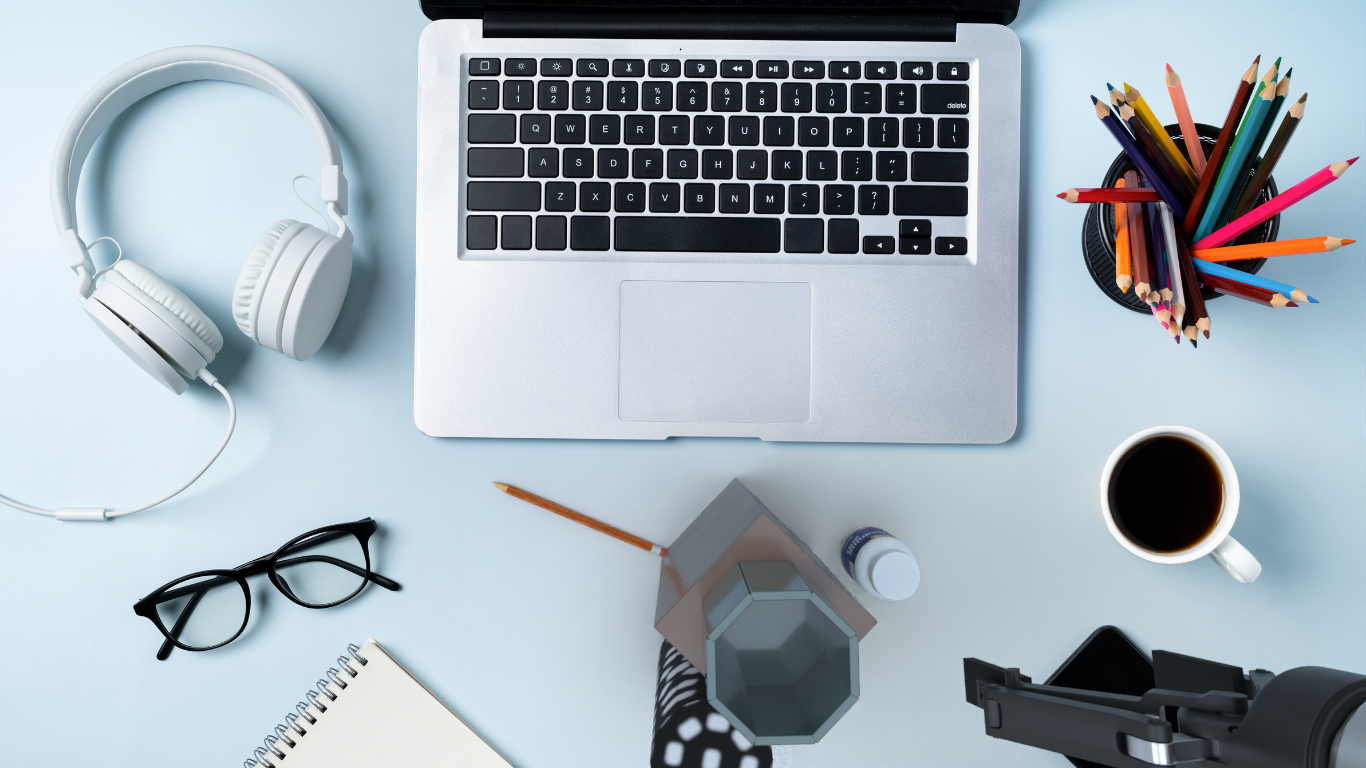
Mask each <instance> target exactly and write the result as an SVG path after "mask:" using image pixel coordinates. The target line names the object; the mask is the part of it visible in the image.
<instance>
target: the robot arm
mask: <svg viewBox="0 0 1366 768" xmlns="http://www.w3.org/2000/svg"><path fill="white" fill-rule="evenodd" d="M1151 659H1152V667H1153V677H1154V686H1155V687H1154V688H1151V689H1149V690H1148V691H1146V693H1144V694H1143V695H1142V696H1136V695H1128V694H1120V693H1112V692H1106V691H1105V692H1104V691H1096V690H1090V689H1089V690H1088V689H1081V688H1072V687H1065V686H1064V687H1063V686H1057V685H1050V684H1040V683H1033V678H1032V677H1031V676H1028V675H1026V674H1023V673H1021V669H1020V667H1003V666H1000V665H997V664H994V663H991V662H988V661H985V660H982V659H980V658H977V657H963V658H962V664H963V677H964V691H965V702H966V703H968V704H970V705H972V706H974V707H977V708H979V709H982V710H983V718H984V731H985V735H986V736H989V737H992V738H993V739H999V740H1004V741H1008V742H1012V743H1016V744H1019V745H1020V744H1021V745H1024V746H1028V747H1031V748H1036V749H1040V750H1043V751H1044V750H1045V751H1048V752H1052V753H1056V754H1060V755H1064V756H1068V757H1072V758H1076V759H1079V760H1080V759H1081V760H1084V761H1088V762H1092V763H1096V764H1100V765H1104V766H1108V767H1112V768H1366V674H1363V673H1357V672H1352V671H1347V670H1342V669H1336V668H1333V667H1332V668H1331V667H1326V666H1320V665H1304V666H1297V667H1293V668H1290V669H1287V670H1285V671H1282V672H1280V673H1278V674H1277V675H1276V674H1275V673H1274V672H1273V671H1272V670H1267V669H1266V668H1259V667H1257V668H1255V669H1250V670H1248V674H1246V673H1244V668H1243V667H1242V666H1237V665H1234V664H1228V663H1224V662H1219V661H1214V660H1210V659H1206V658H1201V657H1196V656H1193V655H1188V654H1183V653H1179V652H1173V651H1170V650H1166V649H1151ZM1165 706H1171V707H1178V709H1177V713H1176V716H1177V717H1176V719H1177V725H1178V726H1177V727H1178V732H1173V727H1172V723H1171V722H1169V721H1168V720H1167V719H1166V717H1167V716H1166V710H1165V709H1166V708H1165Z"/></svg>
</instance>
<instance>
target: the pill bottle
mask: <svg viewBox="0 0 1366 768" xmlns="http://www.w3.org/2000/svg"><path fill="white" fill-rule="evenodd" d="M839 556H840V562H841V564H842V565H841V566H842V568H843V569H844V571H845V572H846V573H847V575H848V576H849V577H850V578H851V579H852V581H854V582H855V583H856V584H857V585H858V586H859V588H861V589H862V590H863V591H864V592H865V593H866V594H867V595H869V596H870V597H872V598H874V599H876V600H879V601H887V602H889V601H890V602H891V601H894V602H895V601H897V602H898V601H903V600H906V599H909V598H910V597H912V596H913V595H914V594H915V593H916V592H917V590H918V588H919V586H920V583H921V569H920V567H919V562H918V558H917V556H916V554H915V552H914V551H913V549H912V548H911V547H910V546H909V545H908V544H907V543H906V542H904V541H903V540H902V539H900V538H898V537H896V536H894V535H892V534H891V533H890V532H888V531H887V530H885V529H883V528H880V527H878V526H873V525H863V526H858V527H856V528H854V529H853V530H852V531H850V532H849V533H848V534H847V535H846V537H845V538H844V540H843V541H842V543H841V546H840V553H839Z"/></svg>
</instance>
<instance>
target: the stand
mask: <svg viewBox="0 0 1366 768" xmlns="http://www.w3.org/2000/svg"><path fill="white" fill-rule="evenodd" d="M666 549H667V550H666V552H665V553H664V554H663V555H662V557H661V564H660V572H659V580H658V589H657V596H656V605H655V606H656V607H655V613H654V623H653V628H654V629H655V630H656V631H657V632H658V633H659V634H660V635H661V636H662V637H663V638H664V640H665V639H666V640H667V641H668V642H669V643H670V644H671V645H673V646H674V647H675V648H676V649H677V650H678V651H679V652H680V653H681V654H682V655H683V656H684V657H685V658H686V659H687V660H688V661H689V662H690V663H691V664H692V665H693V666H694V667H695V668H696V669H697V670H698V671H699V672H700V673H701V674H702V675H704V676H705V669H704V659H703V637H702V601H703V598H704V597H705V596H706V595H707V594H708V593H709V592H710V591H711V590H712V588H713V587H714V586H715V585H716V584H717V583H718V582H719V581H720V580H721V579H722V578H723V577H724V576H725V575H726V574H727V573H728V572H729V571H730V569H731V568H732V567H733V566H734V565H735V564H736V563H739V562H740V561H779V560H790V562H791V561H792V562H793V563H794V564H795V565H796V566H797V567H798V568H799V569H800V570H802V571H803V572H804V573H805V574H806V575H807V576H808V577H809V578H810V579H811V580H812V581H813V582H814V583H815V584H816V585H817V586H818V587H819V588H820V589H821V590H822V591H823V592H824V593H825V594H826V595H828V597H829V598H830V599H831V601H832V602H833V603H834V604H835V606H836V607H837V608H838V609H839V611H840V612H841V613H842V615H843V616H844V617H845V618H846V620H847V621H848V622H849V623H850V625H851V626H852V627H853V629H854V630H855V631H856V632H857V635H858V643H860V642H861V641H862V640H863V639H864V638H865V637H866V636H867V635H868V633H870V631H871V630H872V629H873V628H874V627H875V626H876V625H877V624H878V622H879V621H878V620H877V619H876V618H875V616H873V614H871V612H870V611H869V610H868V609H867V608H866V607H865V606H864V604H862V602H860V601H859V600H858V598H857V597H855V595H854V594H853V593H852V592H851V591H850V589H848V588H847V587H846V585H845V584H844V583H843V582H842V581H841V580H840V579H839V578H838V577H837V576H836V574H834V573H833V571H832V570H831V569H830V568H829V567H828V566H827V565H826V564H825V562H823V560H822V559H821V558H820V557H819V556H818V555H817V554H816V553H815V552H814V551H813V550H812V549H811V548H810V547H809V546H808V545H807V544H806V543H805V542H804V541H803V540H802V539H801V538H799V536H798V535H797V534H796V533H794V532H793V531H792V529H790V528H789V527H788V526H787V525H786V524H785V523H784V522H783V520H781V518H779V517H778V516H777V515H776V514H775V513H774V512H773V511H771V509H770V508H768V507H767V506H766V504H764V503H763V502H762V501H761V500H760V499H759V498H758V497H757V496H756V495H755V494H754V493H753V492H752V491H751V490H750V489H749V488H748V487H746V485H744V484H743V482H741V481H740V479H738V478H737V477H734V478H733V480H732V481H730V483H728V484H727V486H726V487H725V488H724V489H723V490H722V491H721V492H720V493H719V494H718V495H717V496H716V497H715V499H713V500H712V501H711V502H710V503H709V505H708V506H707V507H706V508H705V509H704V510H703V511H702V512H701V513H700V514H699V515H698V516H697V517H696V518H695V519H694V520H693V521H692V522H691V523H690V524H689V525H688V527H686V529H684V531H683V532H682V533H681V534H680V535H679V536H678V537H677V538H676V539H675V540H674V541H673V542H672V543H671V544H670V546H668V548H666Z"/></svg>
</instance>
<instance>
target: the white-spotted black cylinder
mask: <svg viewBox="0 0 1366 768" xmlns="http://www.w3.org/2000/svg"><path fill="white" fill-rule="evenodd" d="M657 658H658V659H657V671H656V672H657V673H656V682H655V683H656V684H655V694H654V695H655V696H654V708H653V722H652V730H651V731H652V733H651V744H650V745H651V746H650V756H649V757H650V758H649V766H650V768H773V767H774V756H773V755H774V754H773V747H772V745H761V746H755V745H754V744H751V743H750V742H749V741H748V740H747V739H746V738H745V737H744V736H743V735H742V734H741V733H740V732H739V731H737V730H736V729H735V728H734V727H733V726H732V725H731V724H730V723H729V722H728V721H727V720H726V719H725V718H724V717H723V716H722V715H721V714H720V713H719V712H718V711H717V710H716V709H715V708H714V707H713V706H712V705H711V704H710V703H709V701H708V700H707V691H706V680H705V676H704V675H702V674H701V673H700V672H699V671H698V670H697V669H696V668H695V667H694V666H693V665H692V664H691V663H690V662H689V661H688V660H687V659H686V658H685V657H684V656H683V655H682V654H681V653H680V652H679V651H678V650H677V649H676V648H675V647H674V646H673V645H671V644H670V643H669V642H668V641H667V640H666V639H665V638H664V640H663V642H662V644H661V645H660V648H659V652H658V657H657Z"/></svg>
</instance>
